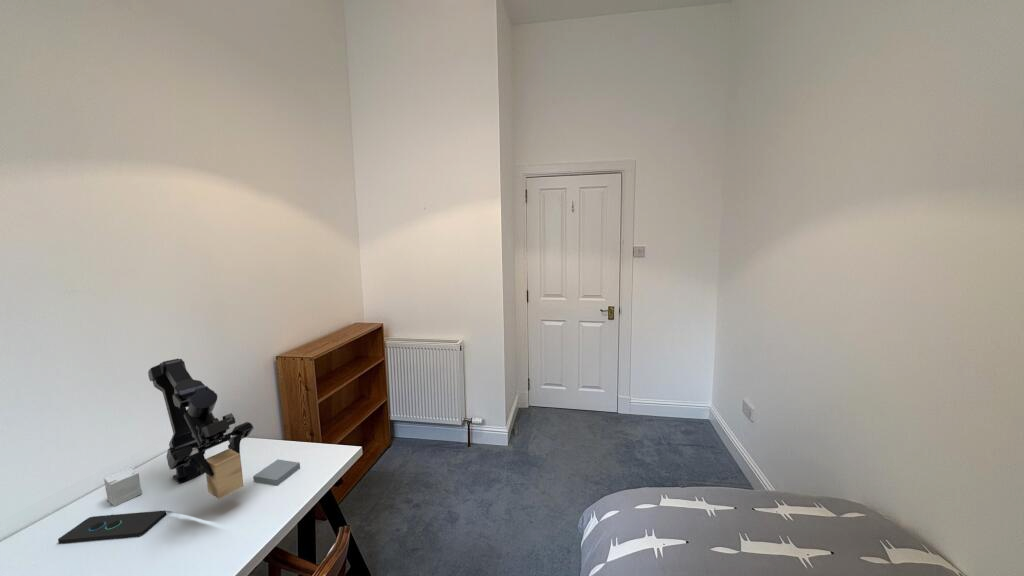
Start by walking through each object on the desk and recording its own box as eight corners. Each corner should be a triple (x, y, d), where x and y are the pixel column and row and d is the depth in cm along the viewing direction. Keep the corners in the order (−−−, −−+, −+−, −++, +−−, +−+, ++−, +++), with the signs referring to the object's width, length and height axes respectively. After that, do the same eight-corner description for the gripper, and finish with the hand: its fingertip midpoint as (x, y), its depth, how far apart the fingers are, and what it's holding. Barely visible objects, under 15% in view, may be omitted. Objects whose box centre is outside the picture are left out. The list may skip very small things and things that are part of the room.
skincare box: (135, 488, 111) (131, 466, 110) (142, 494, 108) (138, 472, 108) (106, 500, 106) (103, 478, 105) (113, 507, 103) (109, 484, 102)
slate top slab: (253, 481, 112) (253, 476, 111) (278, 464, 120) (277, 459, 120) (277, 485, 110) (276, 479, 109) (300, 468, 118) (299, 462, 118)
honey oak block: (208, 492, 99) (204, 459, 98) (232, 479, 105) (229, 448, 103) (218, 499, 97) (215, 465, 95) (243, 485, 102) (240, 454, 101)
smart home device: (90, 515, 98) (167, 509, 100) (91, 521, 98) (168, 514, 101) (55, 540, 90) (140, 532, 92) (56, 546, 90) (141, 538, 92)
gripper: (167, 424, 91) (192, 476, 88) (247, 396, 107) (271, 439, 104) (157, 444, 96) (181, 494, 92) (236, 414, 112) (258, 456, 109)
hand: (226, 469), depth 99 cm, fingers closed on honey oak block, 6 cm apart
